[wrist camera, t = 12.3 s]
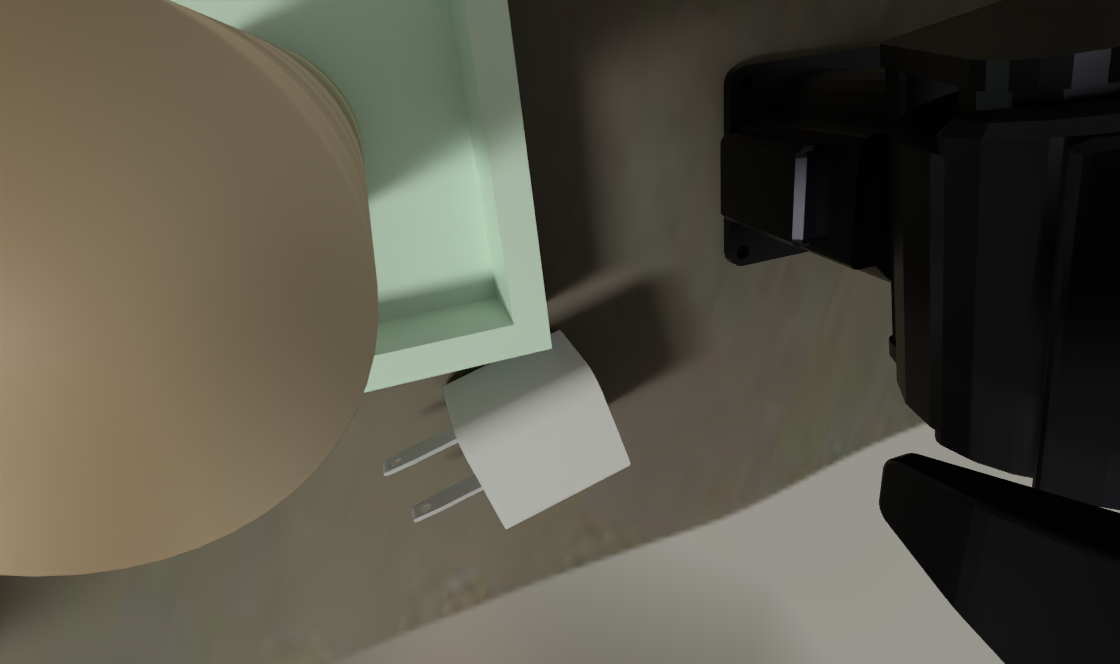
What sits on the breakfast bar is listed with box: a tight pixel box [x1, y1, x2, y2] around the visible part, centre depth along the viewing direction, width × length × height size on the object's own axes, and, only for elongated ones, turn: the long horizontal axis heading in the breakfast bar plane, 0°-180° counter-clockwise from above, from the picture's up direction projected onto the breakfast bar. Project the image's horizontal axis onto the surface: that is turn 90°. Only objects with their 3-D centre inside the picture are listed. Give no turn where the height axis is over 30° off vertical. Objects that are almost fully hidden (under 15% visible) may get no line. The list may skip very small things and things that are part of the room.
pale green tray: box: [170, 0, 552, 393], centre depth 16 cm, size 13×13×3 cm
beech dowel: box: [0, 0, 379, 577], centre depth 11 cm, size 5×5×13 cm
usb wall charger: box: [383, 330, 630, 529], centre depth 20 cm, size 4×7×4 cm, turn 111°
